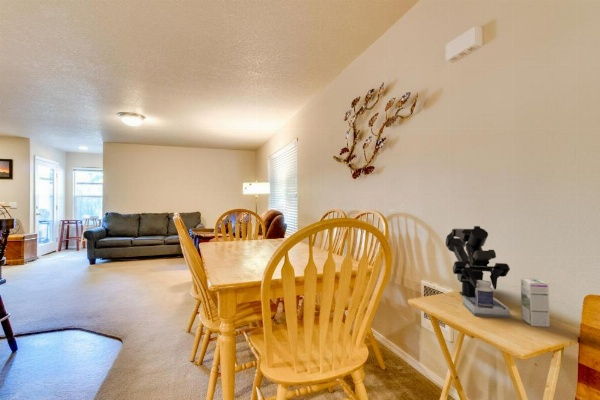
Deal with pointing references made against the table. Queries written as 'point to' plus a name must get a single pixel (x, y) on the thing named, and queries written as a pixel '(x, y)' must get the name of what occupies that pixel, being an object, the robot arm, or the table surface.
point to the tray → (486, 308)
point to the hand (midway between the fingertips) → (485, 288)
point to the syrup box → (535, 302)
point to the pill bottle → (484, 294)
